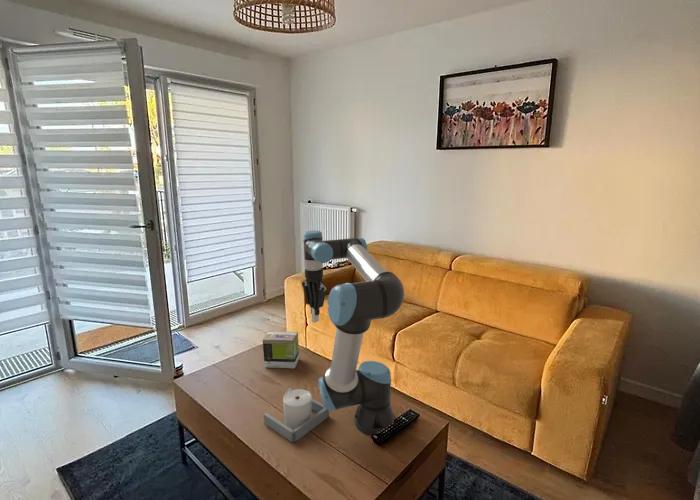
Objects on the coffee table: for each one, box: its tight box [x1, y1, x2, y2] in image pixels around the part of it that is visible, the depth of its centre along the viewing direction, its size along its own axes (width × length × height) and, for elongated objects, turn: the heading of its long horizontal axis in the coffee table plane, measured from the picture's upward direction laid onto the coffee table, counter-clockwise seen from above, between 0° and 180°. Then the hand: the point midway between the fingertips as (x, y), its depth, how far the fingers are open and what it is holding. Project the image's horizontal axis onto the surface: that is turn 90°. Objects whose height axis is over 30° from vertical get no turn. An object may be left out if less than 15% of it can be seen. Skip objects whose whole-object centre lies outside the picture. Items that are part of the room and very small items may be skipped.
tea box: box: [262, 330, 300, 369], centre depth 187 cm, size 15×10×15 cm, turn 84°
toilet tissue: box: [282, 386, 313, 430], centre depth 147 cm, size 11×12×10 cm
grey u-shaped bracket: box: [263, 398, 330, 444], centre depth 148 cm, size 16×18×4 cm
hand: (315, 321), depth 165 cm, fingers closed
